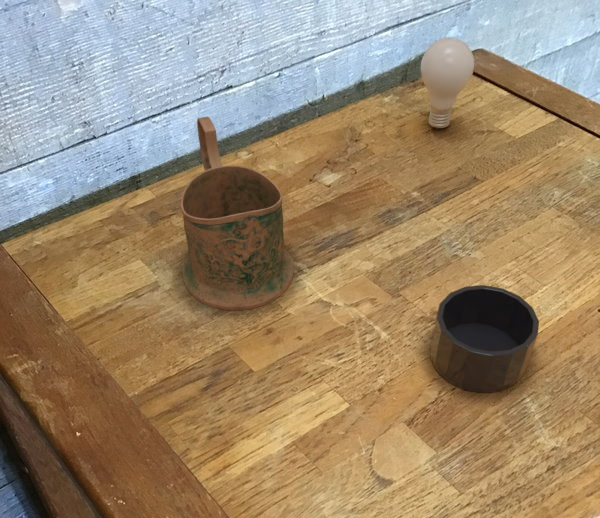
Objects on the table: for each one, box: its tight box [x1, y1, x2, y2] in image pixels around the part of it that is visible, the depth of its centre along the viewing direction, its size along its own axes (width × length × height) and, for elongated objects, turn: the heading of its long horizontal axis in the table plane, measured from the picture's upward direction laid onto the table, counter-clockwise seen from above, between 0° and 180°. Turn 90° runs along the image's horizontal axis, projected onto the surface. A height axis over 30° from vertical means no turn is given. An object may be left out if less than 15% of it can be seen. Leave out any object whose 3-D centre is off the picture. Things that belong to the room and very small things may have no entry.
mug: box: [180, 116, 295, 311], centre depth 74 cm, size 12×18×12 cm, turn 18°
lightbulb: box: [419, 37, 475, 130], centre depth 90 cm, size 6×6×11 cm
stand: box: [430, 284, 540, 394], centre depth 67 cm, size 9×9×5 cm
